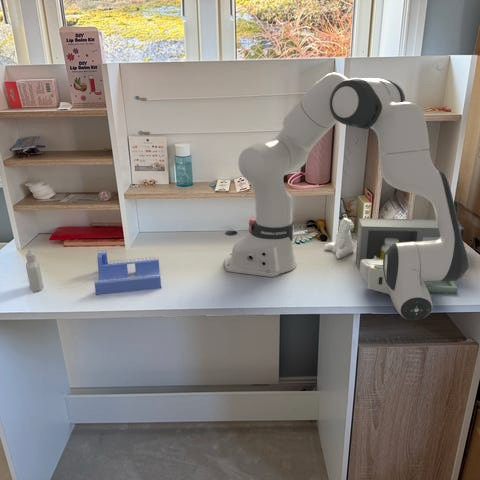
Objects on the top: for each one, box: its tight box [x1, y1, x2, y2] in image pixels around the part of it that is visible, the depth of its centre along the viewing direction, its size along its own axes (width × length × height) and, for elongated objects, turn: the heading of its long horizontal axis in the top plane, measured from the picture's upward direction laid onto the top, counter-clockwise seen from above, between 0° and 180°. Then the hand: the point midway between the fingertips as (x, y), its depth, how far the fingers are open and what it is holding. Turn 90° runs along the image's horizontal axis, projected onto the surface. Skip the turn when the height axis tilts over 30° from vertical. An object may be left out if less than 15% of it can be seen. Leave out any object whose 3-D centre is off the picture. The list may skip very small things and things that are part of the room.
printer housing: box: [355, 217, 462, 270], centre depth 142 cm, size 28×8×14 cm, turn 83°
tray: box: [424, 281, 458, 295], centre depth 132 cm, size 11×11×2 cm
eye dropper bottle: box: [25, 248, 44, 293], centre depth 132 cm, size 4×6×12 cm
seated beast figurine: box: [324, 217, 355, 259], centre depth 154 cm, size 10×9×12 cm
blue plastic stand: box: [93, 249, 162, 296], centre depth 138 cm, size 18×16×7 cm
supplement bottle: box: [380, 237, 399, 260], centre depth 140 cm, size 5×5×10 cm
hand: (393, 258), depth 135 cm, fingers open, 8 cm apart
